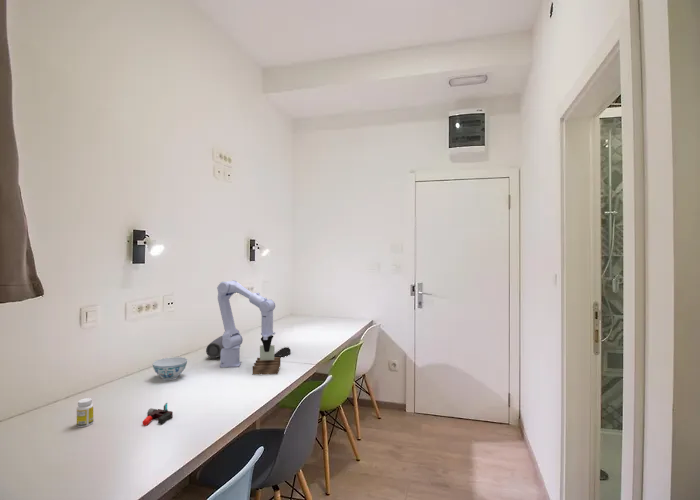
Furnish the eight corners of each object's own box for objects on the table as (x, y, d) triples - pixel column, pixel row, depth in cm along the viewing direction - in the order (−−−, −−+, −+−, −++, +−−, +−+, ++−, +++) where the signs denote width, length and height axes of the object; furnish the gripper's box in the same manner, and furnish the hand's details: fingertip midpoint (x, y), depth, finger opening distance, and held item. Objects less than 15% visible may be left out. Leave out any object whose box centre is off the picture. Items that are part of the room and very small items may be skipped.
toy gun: (151, 412, 144) (151, 399, 144) (176, 418, 140) (177, 404, 140) (128, 423, 135) (128, 410, 135) (154, 429, 131) (155, 415, 131)
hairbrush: (259, 358, 206) (280, 345, 230) (259, 365, 206) (280, 351, 230) (273, 360, 204) (293, 346, 228) (273, 367, 204) (293, 352, 228)
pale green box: (259, 360, 194) (259, 346, 194) (260, 359, 196) (260, 345, 196) (274, 359, 195) (274, 346, 195) (274, 358, 197) (274, 345, 197)
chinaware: (174, 384, 174) (174, 367, 174) (144, 381, 177) (144, 365, 177) (193, 373, 188) (193, 357, 188) (166, 371, 191) (166, 356, 191)
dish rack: (252, 374, 187) (252, 366, 187) (257, 365, 202) (257, 357, 202) (277, 374, 188) (277, 365, 188) (280, 364, 203) (280, 357, 203)
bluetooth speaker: (221, 360, 211) (221, 342, 211) (205, 360, 211) (205, 342, 211) (235, 349, 234) (235, 333, 234) (219, 349, 234) (219, 333, 234)
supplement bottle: (90, 420, 137) (90, 396, 137) (95, 423, 134) (95, 399, 134) (74, 424, 133) (74, 400, 133) (79, 428, 130) (79, 404, 130)
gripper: (273, 326, 188) (273, 354, 188) (276, 321, 203) (276, 347, 203) (259, 327, 188) (258, 355, 188) (263, 321, 202) (262, 347, 202)
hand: (267, 351), depth 195 cm, fingers closed on pale green box, 2 cm apart
